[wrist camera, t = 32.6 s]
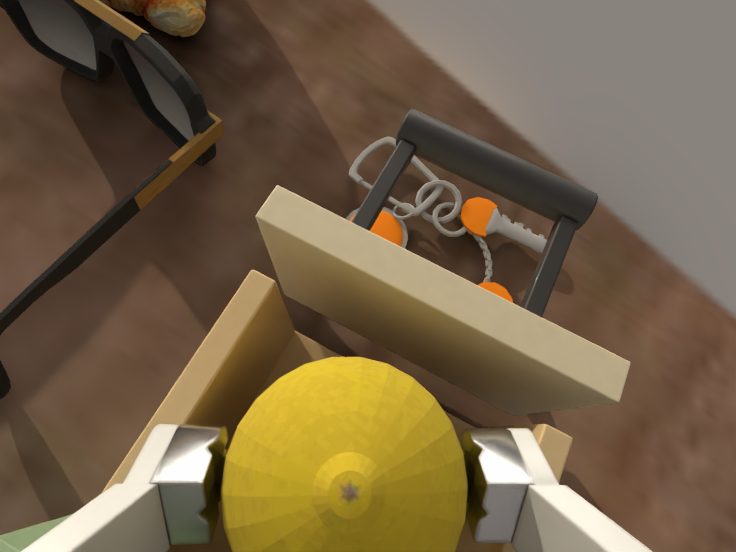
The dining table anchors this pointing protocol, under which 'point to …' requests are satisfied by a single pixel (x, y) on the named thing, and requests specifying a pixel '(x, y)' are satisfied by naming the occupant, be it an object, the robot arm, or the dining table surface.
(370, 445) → the lemon
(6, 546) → the cabinet
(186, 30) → the croissant
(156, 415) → the drawer
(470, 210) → the key chain
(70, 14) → the sunglasses
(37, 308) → the dining table surface
